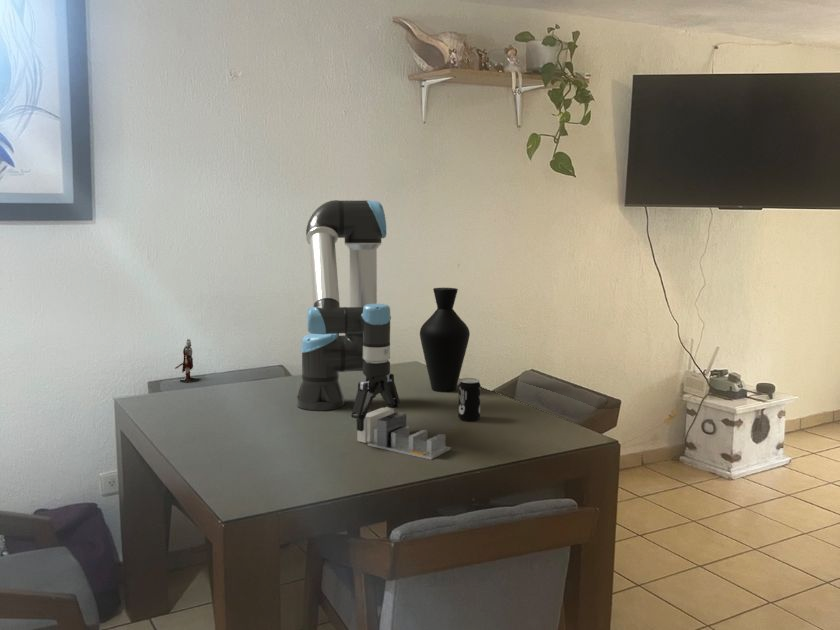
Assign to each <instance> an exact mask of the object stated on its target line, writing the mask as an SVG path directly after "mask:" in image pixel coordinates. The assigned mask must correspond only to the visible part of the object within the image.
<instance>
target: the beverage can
mask: <svg viewBox="0 0 840 630" xmlns="http://www.w3.org/2000/svg"><path fill="white" fill-rule="evenodd" d="M481 387H482V386H481V383H480V379H478V378H473V377H464V378H461V379H460V381H459V383H458V404H457V405H458V406H457V407H458V410H457V415H458V418H459V419H460V421H464V422H476V421H478V420H479V419H480V417H481V393H482V391H481V389H482V388H481Z"/></svg>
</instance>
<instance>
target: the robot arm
mask: <svg viewBox="0 0 840 630" xmlns="http://www.w3.org/2000/svg"><path fill="white" fill-rule="evenodd" d="M305 232H306V233H305V234H306V235H305V236H306V237H305V238H306V242H307V243H308V244H309V250H310V268H311V269H310V270H311V271H310V272H311V285H312V288H311V289H312V302H313V303H312V307H309V308H307V310H306V316H307V317H306V321H307V322H306V324H307V325H306V327H307V328H306V329H307V332H309V333H308V334H306V335H304V336H303V338H302V339H301V350H300V352H301V382H300V387H299V389H298V393H297V395H296V406H297V407H298V408H299V409H302V408H303V410H308V411H329V410H330V411H331V410H335V409H339V408H341V407H343V406H344V405H345V395H344V393H343V391H342V387H341V383H340V379H339V378H340V377H339V376H340V375H339V373H350V372H355V373H356V372H362V373H363V375H364V376H365V381H358V383H357V392H356V396H355V400H354V403H353V407H352V412H351V415H350V416H351V418H353V419H356V432H357V433H356V435H357V437H356V438H357V439H356V440H357V442H360V443H364V444H365V443H368V441H367V419H365V417H366V414H367V413H369V412H368V411H369V409H370V407H371V404H372V401H373V399H375V398H376V396H377V395H379V394H380V396H381V397H382V400H383V402H384V403H385V405H386V406H385V407H384V408H387V409H391V414H393V413H396V410H395V409H398V408H399V404H400V398H399V394H398V391H397V387H396V384H395V374H394V373H391V362H390V359H391V320H392V316H391V307H390V306H389V305H388V304H385V303H378V299H377V297H378V296H377V295H378V288H377V286H378V284H377V283H378V276H377V274H378V273H377V272H378V271H377V270H378V269H377V268H378V264H377V261H378V260H377V256H378V255H377V253H378V252H377V249H378V248H379V247H380V246H381V245H382V239H385V238H386V237H387V221H386V215H385V210H384V207H383V205H382V203H381V202H379V201H377V200H367V199H366V200H337V199H336V200H335V199H333V200H329V201H326V202H324V203H322V204H321V205H319V206H318V207H317V208H316V209H315V211H314V212H313V213H312V214H311V215H310V218H309V220H308V221H307V225H306V229H305ZM339 238H340V239H344V245H345V246H346V247H347V248H348V249H349V250H348V251H349V306H347V307H346V306H343V307H342V306H341V305H340V290H339V280H338V266H337V251H336V243H337V242H338V239H339ZM341 334H343V335H341Z"/></svg>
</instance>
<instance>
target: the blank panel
mask: <svg viewBox="0 0 840 630" xmlns="http://www.w3.org/2000/svg"><path fill="white" fill-rule="evenodd" d="M388 415H391V409H387V408H385V407H380V408H377V409H374V410H373V411H370V412H367V414H366V417H365V419H367V443H370V442H372V441H374V429H375V428H377V420H378V419H381V418H383V417H386V416H388Z"/></svg>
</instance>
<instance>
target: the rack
mask: <svg viewBox="0 0 840 630" xmlns="http://www.w3.org/2000/svg"><path fill="white" fill-rule="evenodd" d="M407 415H408V414H407V413H406V412H401V411H395V413H393V414H391V415H388V416H386V417H383V418H381V419H378V420H377V428H375V429H374V440H373V441H371V442H367V446H368V447H373V448H378V449H382V450H386V451H389V452H390V451H391V452H396V453H400V454H403V455H409V456H414V457H419V458H421V459H427V460H433V459H435V458H437V457H439V456H441V455H443V454H445V453H446V452H449V451H451V450H452V449H451V448H452V447H451V446H448V445H446V434H445V433H441V432H440V433H438V434H435V436H433V437H429V438H428V430H426V429H422V430H419V431H417V432H415V433H412V434H411V426H407Z"/></svg>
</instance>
